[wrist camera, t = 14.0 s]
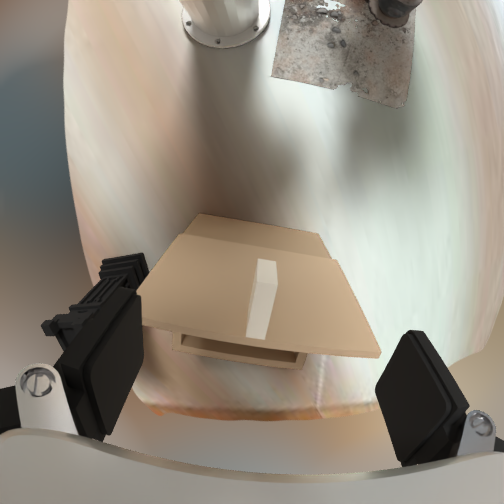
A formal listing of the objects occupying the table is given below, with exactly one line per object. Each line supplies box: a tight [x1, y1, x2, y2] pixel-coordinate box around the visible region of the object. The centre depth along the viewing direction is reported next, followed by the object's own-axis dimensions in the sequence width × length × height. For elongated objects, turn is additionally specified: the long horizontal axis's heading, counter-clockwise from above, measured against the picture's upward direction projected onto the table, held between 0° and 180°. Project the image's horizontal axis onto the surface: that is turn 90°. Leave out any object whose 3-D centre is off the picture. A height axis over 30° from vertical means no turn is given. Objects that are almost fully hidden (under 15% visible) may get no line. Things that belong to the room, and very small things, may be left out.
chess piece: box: [41, 253, 149, 351], centre depth 40 cm, size 8×8×20 cm
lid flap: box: [136, 233, 381, 358], centre depth 25 cm, size 16×18×5 cm
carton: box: [172, 213, 332, 370], centre depth 42 cm, size 16×18×12 cm
